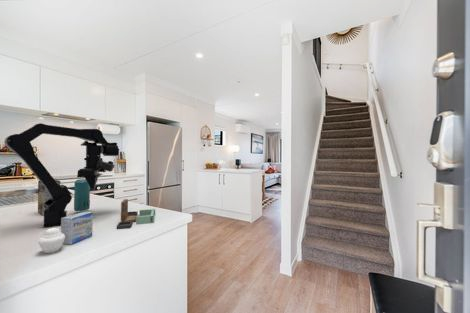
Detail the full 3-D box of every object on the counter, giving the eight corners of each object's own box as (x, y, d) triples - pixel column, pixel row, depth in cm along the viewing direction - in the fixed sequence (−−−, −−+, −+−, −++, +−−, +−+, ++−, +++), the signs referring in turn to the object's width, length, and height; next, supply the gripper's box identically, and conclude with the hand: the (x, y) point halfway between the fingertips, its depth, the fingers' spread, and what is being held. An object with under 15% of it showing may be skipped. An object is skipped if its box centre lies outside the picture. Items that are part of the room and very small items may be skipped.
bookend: (120, 223, 87) (121, 202, 87) (123, 218, 94) (124, 199, 94) (148, 221, 91) (148, 201, 91) (149, 217, 98) (150, 198, 98)
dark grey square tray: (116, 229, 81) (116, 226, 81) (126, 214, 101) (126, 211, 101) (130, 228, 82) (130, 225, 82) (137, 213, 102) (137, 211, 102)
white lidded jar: (56, 245, 66) (56, 223, 66) (69, 248, 64) (70, 225, 64) (32, 253, 60) (32, 230, 60) (46, 257, 58) (47, 232, 58)
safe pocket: (136, 224, 87) (136, 217, 87) (139, 216, 99) (139, 209, 99) (153, 222, 89) (153, 215, 89) (155, 215, 101) (155, 208, 101)
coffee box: (36, 213, 100) (37, 180, 100) (53, 210, 105) (54, 179, 105) (43, 216, 95) (43, 181, 95) (60, 213, 101) (61, 180, 100)
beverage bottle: (83, 214, 99) (84, 173, 99) (69, 214, 99) (70, 173, 99) (92, 210, 106) (93, 172, 106) (80, 210, 106) (81, 172, 106)
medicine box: (71, 245, 66) (71, 218, 66) (60, 243, 67) (60, 217, 67) (92, 236, 74) (93, 212, 74) (82, 234, 75) (83, 211, 75)
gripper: (107, 156, 90) (107, 191, 90) (117, 156, 107) (116, 185, 107) (77, 155, 86) (76, 192, 86) (92, 155, 104) (92, 186, 104)
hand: (92, 189), depth 96 cm, fingers closed
